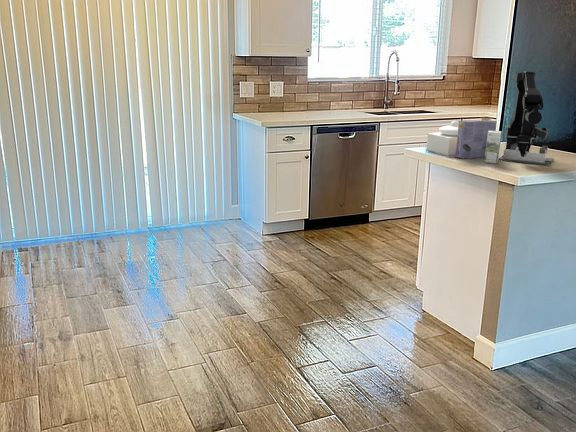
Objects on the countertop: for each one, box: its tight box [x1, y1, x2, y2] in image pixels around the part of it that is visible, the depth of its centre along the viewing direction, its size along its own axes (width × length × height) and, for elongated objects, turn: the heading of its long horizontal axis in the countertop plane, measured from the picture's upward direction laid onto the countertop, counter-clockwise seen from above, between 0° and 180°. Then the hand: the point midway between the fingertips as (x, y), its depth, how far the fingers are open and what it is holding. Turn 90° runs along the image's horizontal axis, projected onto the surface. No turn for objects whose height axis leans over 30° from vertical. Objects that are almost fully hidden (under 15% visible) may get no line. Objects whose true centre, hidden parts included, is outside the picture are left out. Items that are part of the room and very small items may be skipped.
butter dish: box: [426, 120, 459, 157], centre depth 279 cm, size 18×18×16 cm
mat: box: [498, 156, 552, 166], centre depth 258 cm, size 22×7×1 cm, turn 57°
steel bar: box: [502, 148, 548, 163], centre depth 258 cm, size 18×4×4 cm, turn 57°
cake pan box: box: [454, 120, 497, 159], centre depth 265 cm, size 19×5×18 cm, turn 106°
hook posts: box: [501, 143, 555, 163], centre depth 264 cm, size 22×8×6 cm, turn 57°
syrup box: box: [483, 130, 503, 165], centre depth 253 cm, size 6×6×14 cm
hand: (524, 155), depth 257 cm, fingers open, 9 cm apart
